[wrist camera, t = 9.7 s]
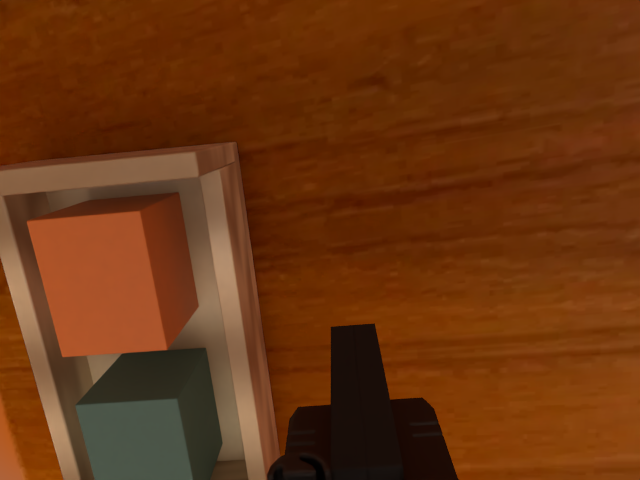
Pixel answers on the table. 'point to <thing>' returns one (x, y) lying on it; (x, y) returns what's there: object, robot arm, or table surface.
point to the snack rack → (141, 312)
